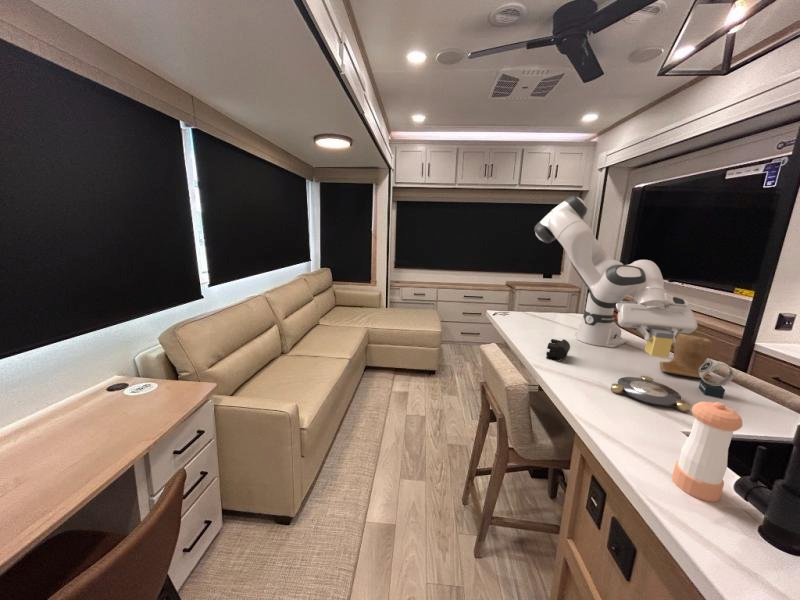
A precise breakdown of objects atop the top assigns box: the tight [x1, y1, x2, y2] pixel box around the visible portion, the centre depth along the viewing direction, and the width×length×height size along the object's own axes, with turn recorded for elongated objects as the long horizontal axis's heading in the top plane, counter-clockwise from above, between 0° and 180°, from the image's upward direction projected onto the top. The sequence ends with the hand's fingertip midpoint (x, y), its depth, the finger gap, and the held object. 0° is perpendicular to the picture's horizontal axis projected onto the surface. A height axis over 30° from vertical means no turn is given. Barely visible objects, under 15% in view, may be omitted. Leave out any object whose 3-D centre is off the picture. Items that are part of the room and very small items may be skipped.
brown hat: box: [659, 333, 713, 380], centre depth 115 cm, size 15×12×15 cm
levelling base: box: [610, 375, 691, 413], centre depth 98 cm, size 19×19×2 cm
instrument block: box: [644, 328, 674, 359], centre depth 96 cm, size 4×4×8 cm
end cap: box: [545, 338, 571, 362], centre depth 127 cm, size 10×7×7 cm
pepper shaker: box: [671, 401, 744, 503], centre depth 62 cm, size 7×7×19 cm
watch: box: [698, 360, 735, 399], centre depth 101 cm, size 6×8×11 cm
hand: (660, 341), depth 95 cm, fingers closed on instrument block, 4 cm apart
